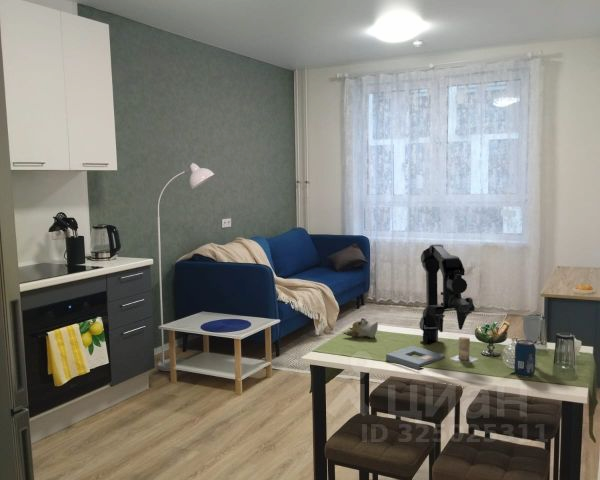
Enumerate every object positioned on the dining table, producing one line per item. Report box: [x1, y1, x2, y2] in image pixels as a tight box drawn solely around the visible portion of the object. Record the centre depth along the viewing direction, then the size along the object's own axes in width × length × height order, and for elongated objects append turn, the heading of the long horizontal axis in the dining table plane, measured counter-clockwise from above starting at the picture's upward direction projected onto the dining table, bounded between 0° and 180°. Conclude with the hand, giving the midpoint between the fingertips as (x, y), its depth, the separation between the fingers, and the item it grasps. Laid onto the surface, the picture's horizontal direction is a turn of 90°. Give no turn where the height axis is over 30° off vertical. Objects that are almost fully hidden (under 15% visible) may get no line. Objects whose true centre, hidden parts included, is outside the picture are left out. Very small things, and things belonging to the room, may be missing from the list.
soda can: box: [514, 339, 536, 378], centre depth 204 cm, size 7×7×12 cm
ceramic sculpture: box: [342, 318, 379, 339], centre depth 255 cm, size 11×9×15 cm
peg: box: [458, 336, 471, 360], centre depth 218 cm, size 4×4×8 cm
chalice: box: [521, 315, 544, 366], centre depth 215 cm, size 7×7×18 cm
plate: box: [449, 354, 479, 365], centre depth 219 cm, size 8×8×2 cm
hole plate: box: [385, 345, 446, 372], centre depth 221 cm, size 16×16×3 cm
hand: (450, 330), depth 216 cm, fingers open, 9 cm apart
